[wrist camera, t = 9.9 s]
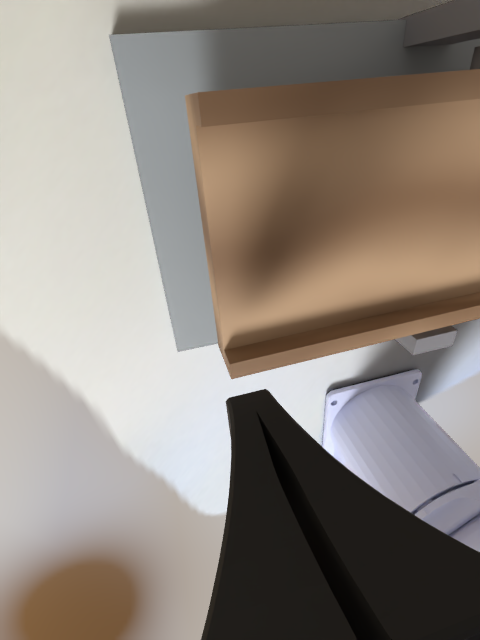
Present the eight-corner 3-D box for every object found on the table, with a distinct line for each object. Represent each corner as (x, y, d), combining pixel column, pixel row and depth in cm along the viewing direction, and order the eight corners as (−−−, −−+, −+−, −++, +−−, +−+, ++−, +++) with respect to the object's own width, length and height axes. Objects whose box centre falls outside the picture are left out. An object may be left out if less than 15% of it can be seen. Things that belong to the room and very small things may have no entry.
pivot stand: (534, 268, 25) (623, 303, 20) (176, 343, 20) (188, 410, 16) (642, 8, 17) (822, -28, 13) (109, 36, 13) (96, -4, 8)
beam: (574, 275, 21) (634, 297, 18) (219, 356, 17) (235, 399, 14) (692, 33, 15) (805, 18, 12) (181, 68, 11) (196, 56, 8)
